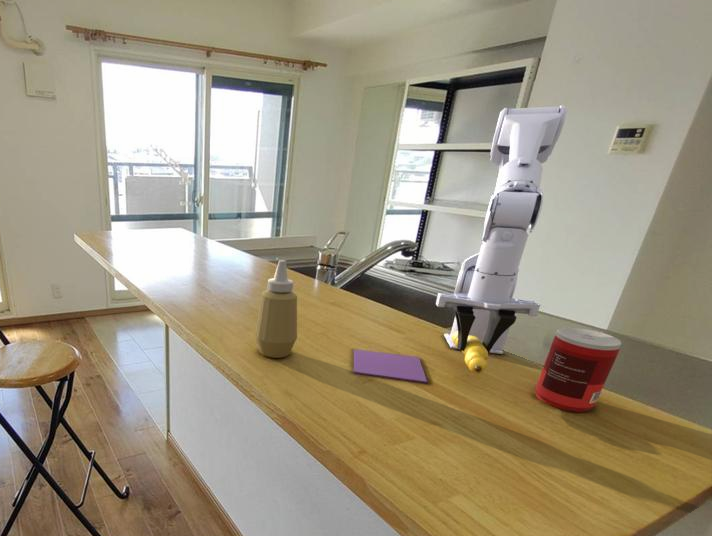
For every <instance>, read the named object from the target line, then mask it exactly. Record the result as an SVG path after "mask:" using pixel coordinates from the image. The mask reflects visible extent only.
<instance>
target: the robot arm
mask: <svg viewBox="0 0 712 536" xmlns="http://www.w3.org/2000/svg"><path fill="white" fill-rule="evenodd" d="M567 113H568V109H567V108H566V105H560V106H544V107H543V106H542V107H521V108H519V107H517V108H509V107H504V108H503V109H502V110H501V111H500V112H499V116H498V119H497V123H496V127H495V131H494V135H493V139H492V146H491V149H490V154H489V155H490V159H489V160H490V162H491V163H492V164H494V165H496V166H497V167H498V177H497V181H496V185H495V190H494V194H492V195H491V197H490V199H489V204H488V207H487V210H486V215H485V219H484V223H483V224H484V225H483V226H484V227H483V234H482V237H481V242H482V244H481V245H480V249H479V252H478V253H476V254H474V255H472V256H470V257H468V258H465V260H464V261H463V262H462V263H461V267H460V270H459V273H458V276H457V280H456V284H455V288H454V293H444V292H443V293H442V292H438V293H437V296H436V300H435V305H436V306H437V307H438V308H445V307H447V308H453V312H454V320H453V323H452V327H451V331H450V333H444V334H443V337H444V338H445V340H446V342H447V344H448V345H449V348H451V349H454V350H459V351H460V352H462V351H464V349H465V348H466V344H467V340H468V335H472V336H475V337H477V338H478V339H479V340H480V342H481V343H482V344H483V346H484V347H485V348H486V350H487V352H488V355H489V354H497V355H498V354H499V355H503V354H504V351H503V349H504V346H505V344H506V340H507V337H508V334H509V331H510V329H511V326H513V325H514V324H515V322H516V320H517V316H516V314H520V315H521V314H522V315H527V316H531V317H532V316H533V317H537V316H538V313H539V310H540V307H541V304H540V303H539V302H537V301H535V300H526V299H519V298H513V297H514V294H515V291H516V287H517V282H518V274H519V270H520V268H519V267H520V265H521V261H522V258H523V254H524V251H525V247H526V244H527V241H528V238H529V234H528V232H527V230H528V228H529V233H530V234H531V233H532V232H533V230H534V229H535V227H536V225H537V223H538V221H539V218H540V215H541V213H542V212H541V211H542V209H543V208H542V207H543V203H544V191H543V188H541V181H542V176H543V165H542V164H544V163H547V161H548V159H549V157H550V156H551V155H552V153H553V151H554V148H555V146H556V144H557V143H558V141H559V139H560V135H561V134H562V131H563V127H564V124H565V121H566V117H567ZM457 331H458V346H457V347H458V348H457V347H456V345H455V344H454V342H453V340H452V336H453V334H454V333H455V332H457Z"/></svg>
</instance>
